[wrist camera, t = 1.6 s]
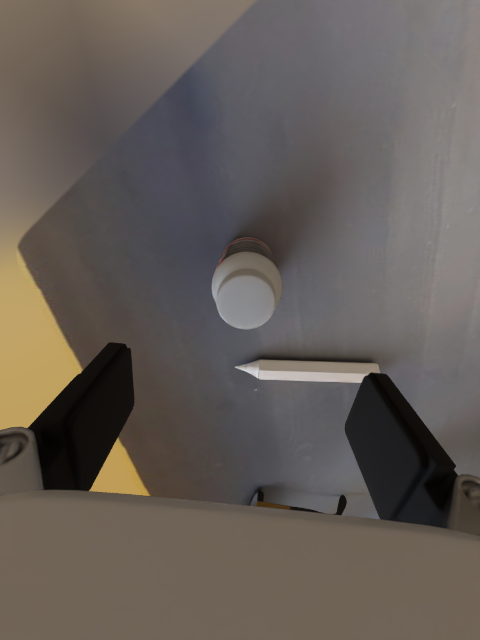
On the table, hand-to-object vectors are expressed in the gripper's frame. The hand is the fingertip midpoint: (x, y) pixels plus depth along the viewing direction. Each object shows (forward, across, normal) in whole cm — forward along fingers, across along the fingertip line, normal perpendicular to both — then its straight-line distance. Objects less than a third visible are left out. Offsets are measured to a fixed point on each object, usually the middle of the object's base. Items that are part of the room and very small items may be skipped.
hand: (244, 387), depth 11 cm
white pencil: (+18, -8, +10) cm, 22 cm away
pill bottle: (+18, 0, -1) cm, 18 cm away
